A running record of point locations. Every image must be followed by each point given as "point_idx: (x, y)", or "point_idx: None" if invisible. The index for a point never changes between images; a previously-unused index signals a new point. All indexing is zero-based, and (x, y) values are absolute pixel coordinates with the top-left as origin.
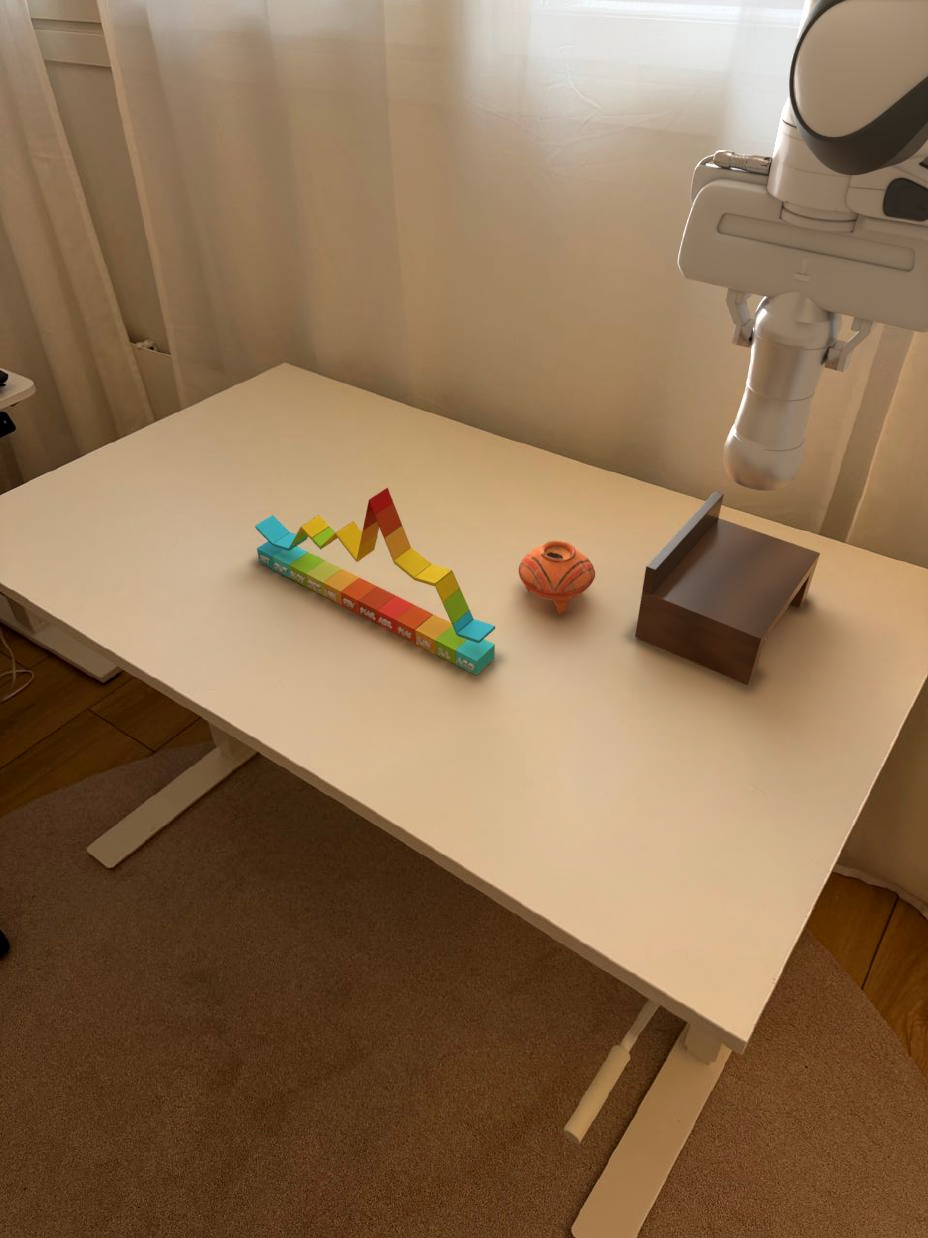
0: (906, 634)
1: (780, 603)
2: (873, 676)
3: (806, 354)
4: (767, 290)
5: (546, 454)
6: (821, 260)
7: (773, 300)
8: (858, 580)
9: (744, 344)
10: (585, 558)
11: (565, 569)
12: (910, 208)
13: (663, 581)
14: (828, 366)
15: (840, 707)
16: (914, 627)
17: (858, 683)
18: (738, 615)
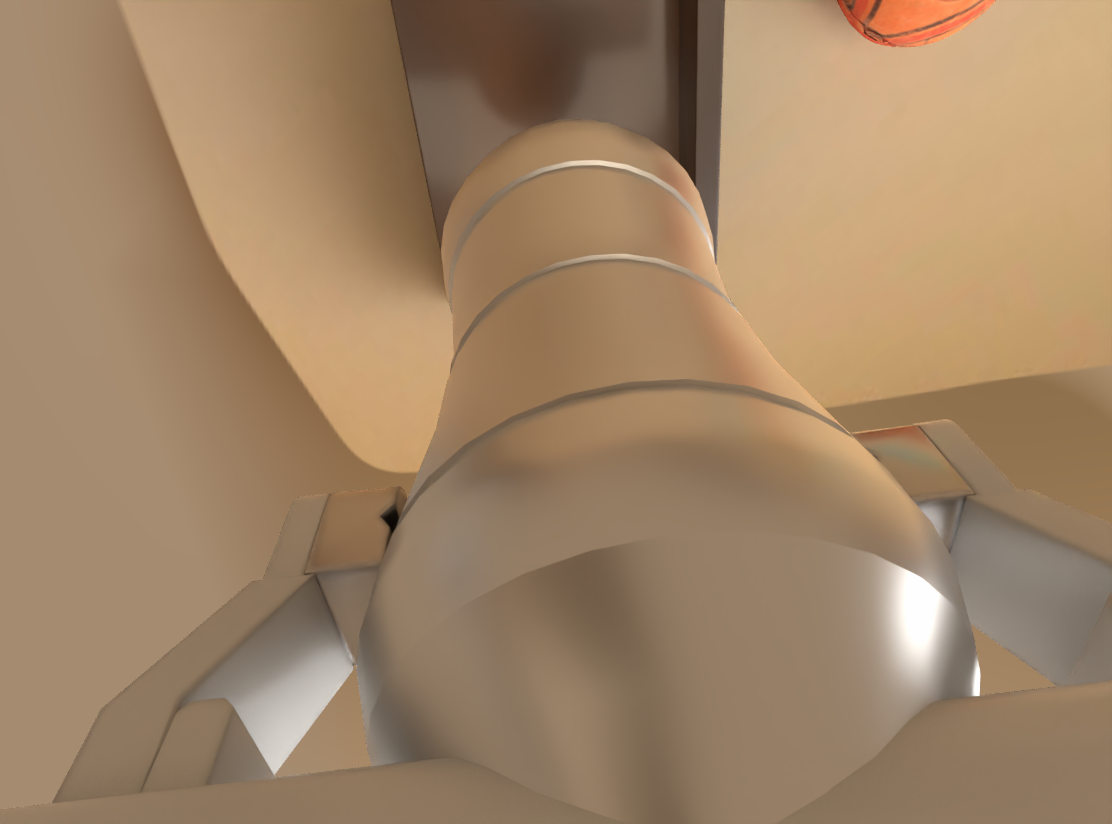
0: (286, 325)
1: (427, 140)
2: (255, 182)
3: (459, 436)
4: (1029, 745)
5: (1077, 367)
6: None
7: (903, 674)
8: (424, 400)
9: (874, 431)
10: (885, 3)
11: None
12: None
13: (678, 22)
14: (377, 491)
15: (240, 50)
16: (288, 350)
17: (261, 143)
18: (473, 27)
